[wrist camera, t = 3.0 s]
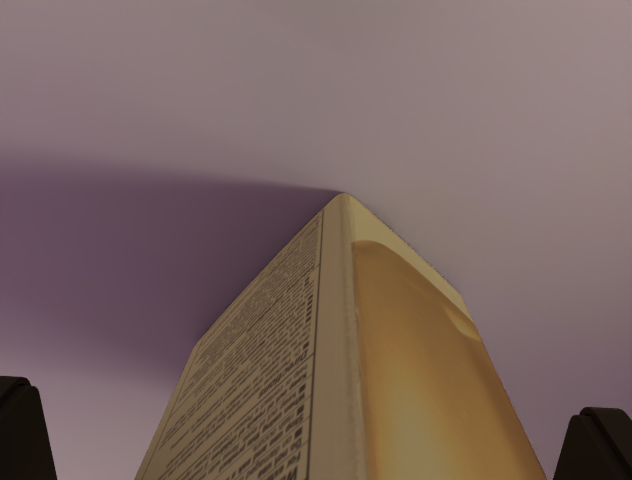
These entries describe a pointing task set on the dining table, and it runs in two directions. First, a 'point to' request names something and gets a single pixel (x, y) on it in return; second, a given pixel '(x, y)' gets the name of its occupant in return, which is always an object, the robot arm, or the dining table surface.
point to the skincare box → (342, 373)
